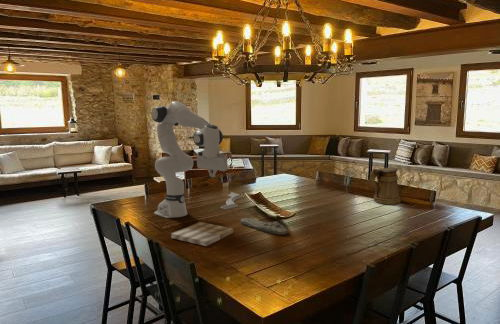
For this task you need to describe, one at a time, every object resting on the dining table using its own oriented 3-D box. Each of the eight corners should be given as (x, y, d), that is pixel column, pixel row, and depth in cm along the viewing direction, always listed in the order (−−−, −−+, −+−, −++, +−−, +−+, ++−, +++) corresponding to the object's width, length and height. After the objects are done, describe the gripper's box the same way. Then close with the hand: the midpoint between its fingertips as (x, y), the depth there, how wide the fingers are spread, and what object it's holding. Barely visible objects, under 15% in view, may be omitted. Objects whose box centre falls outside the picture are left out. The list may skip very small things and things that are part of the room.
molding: (228, 195, 307) (228, 191, 306) (243, 195, 306) (243, 191, 305) (219, 210, 265) (219, 206, 265) (236, 210, 264) (236, 206, 264)
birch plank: (171, 237, 210) (171, 233, 210) (185, 231, 220) (185, 227, 220) (206, 246, 198) (206, 241, 197) (219, 239, 208) (219, 235, 207)
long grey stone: (247, 222, 242) (236, 227, 235) (247, 214, 241) (235, 218, 234) (292, 232, 217) (281, 237, 210) (291, 223, 217) (280, 228, 210)
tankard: (405, 204, 276) (407, 169, 272) (376, 206, 270) (378, 171, 266) (390, 197, 293) (392, 165, 289) (362, 200, 287) (364, 167, 283)
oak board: (186, 231, 221) (186, 227, 220) (199, 225, 231) (199, 221, 230) (220, 239, 208) (220, 234, 208) (232, 232, 218) (232, 228, 218)
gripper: (230, 154, 219) (230, 177, 221) (201, 151, 230) (202, 174, 232) (223, 155, 214) (223, 179, 216) (195, 152, 225) (195, 175, 227)
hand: (212, 176), depth 224 cm, fingers closed
